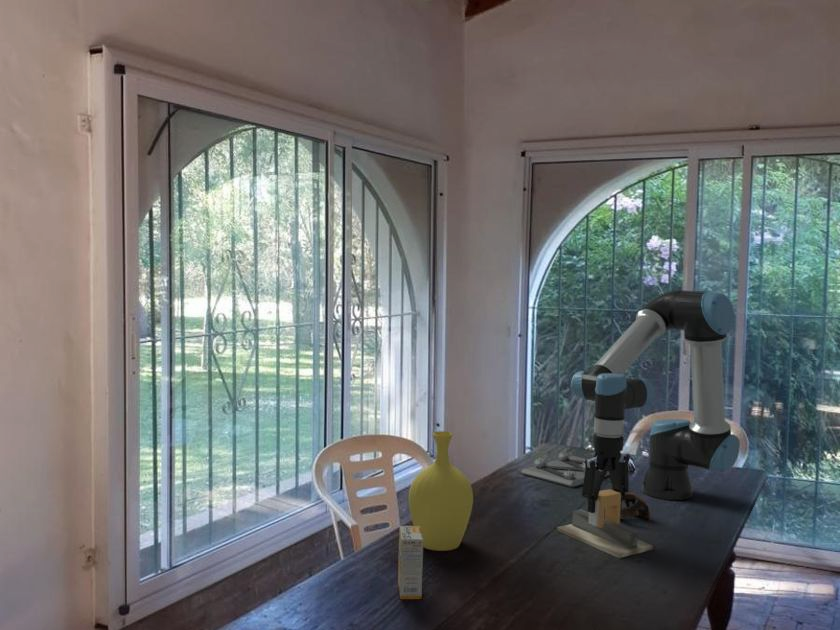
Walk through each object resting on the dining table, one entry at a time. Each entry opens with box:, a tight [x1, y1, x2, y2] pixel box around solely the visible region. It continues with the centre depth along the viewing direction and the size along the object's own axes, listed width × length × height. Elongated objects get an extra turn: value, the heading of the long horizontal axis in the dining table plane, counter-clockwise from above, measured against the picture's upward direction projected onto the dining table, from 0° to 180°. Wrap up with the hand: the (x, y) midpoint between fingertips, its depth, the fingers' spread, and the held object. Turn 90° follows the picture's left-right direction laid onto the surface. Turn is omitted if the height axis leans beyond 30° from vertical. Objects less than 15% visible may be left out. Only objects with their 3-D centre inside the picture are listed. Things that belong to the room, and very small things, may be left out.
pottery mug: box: [620, 492, 652, 523], centre depth 227 cm, size 12×10×8 cm
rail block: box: [556, 508, 654, 559], centre depth 208 cm, size 12×22×5 cm, turn 33°
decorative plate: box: [520, 451, 610, 488], centre depth 272 cm, size 30×22×7 cm
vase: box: [408, 430, 474, 552], centre depth 201 cm, size 16×16×28 cm
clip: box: [592, 488, 621, 528], centre depth 208 cm, size 7×4×8 cm, turn 123°
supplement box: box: [397, 525, 424, 600], centre depth 172 cm, size 8×5×13 cm, turn 5°
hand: (604, 522), depth 208 cm, fingers closed on clip, 7 cm apart
